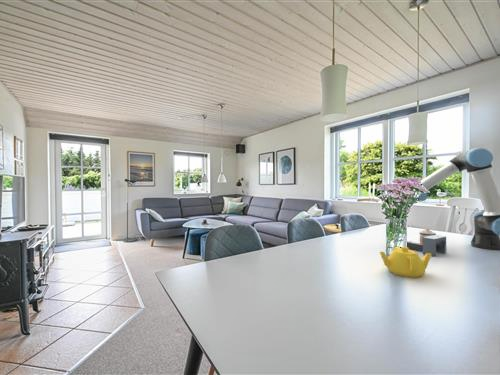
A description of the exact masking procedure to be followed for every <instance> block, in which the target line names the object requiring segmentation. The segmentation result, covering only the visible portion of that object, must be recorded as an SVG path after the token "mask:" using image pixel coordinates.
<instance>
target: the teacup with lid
mask: <svg viewBox="0 0 500 375" xmlns="http://www.w3.org/2000/svg"><path fill="white" fill-rule="evenodd" d="M418 233H419V244H423V237H427V236H431V235H437V233H436V232H434V231H431V230H430V228H425V229H423V230H422V231H419V232H418Z"/></svg>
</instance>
